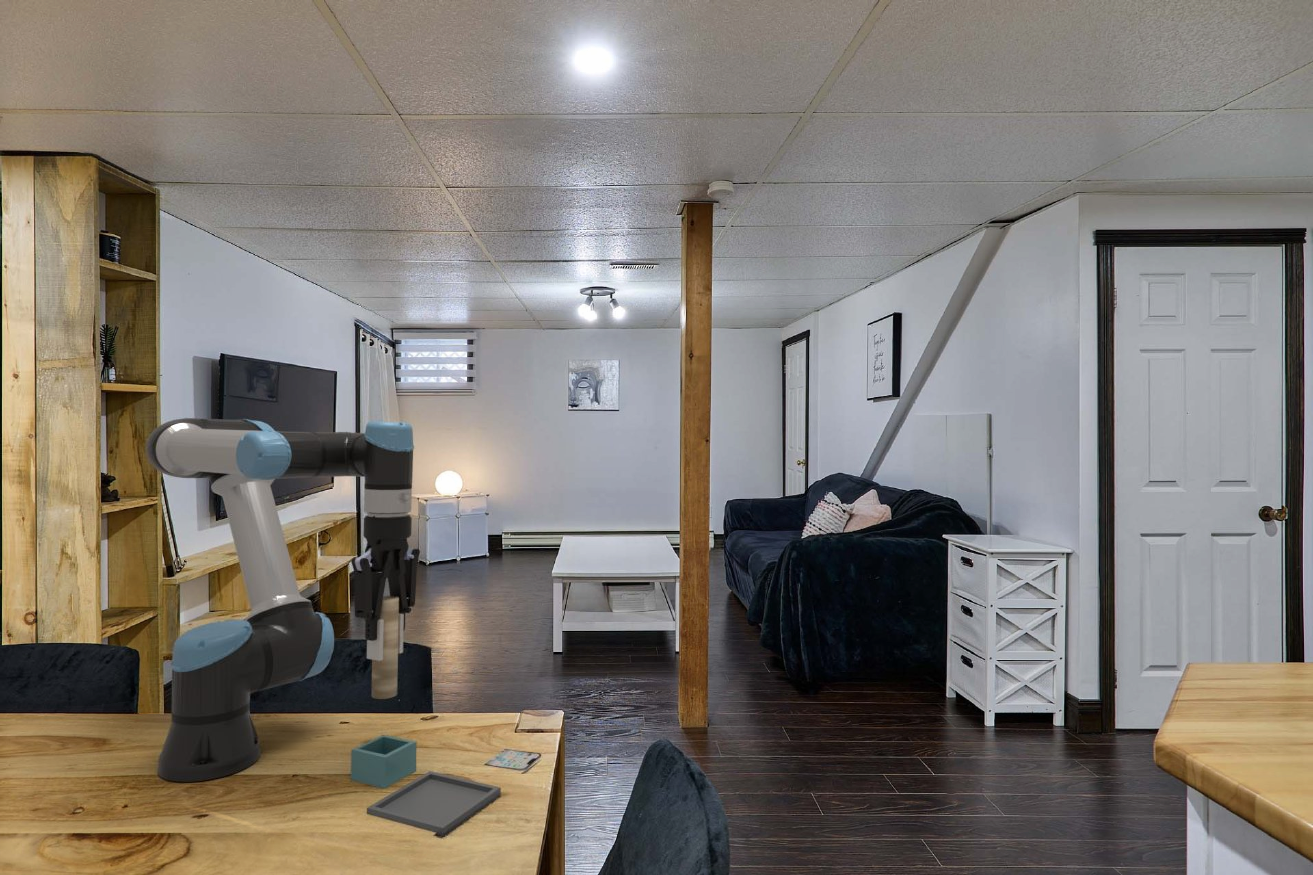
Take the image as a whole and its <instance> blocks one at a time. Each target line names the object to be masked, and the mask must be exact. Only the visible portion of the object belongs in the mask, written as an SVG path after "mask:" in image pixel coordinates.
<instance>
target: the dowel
mask: <svg viewBox="0 0 1313 875" xmlns="http://www.w3.org/2000/svg"><path fill="white" fill-rule="evenodd" d="M379 619H383V620H384V632H383V660H380V661H378V660H372V659H371V697H372V698H373V699H377V700H386V699H390V698H394V697H396V696H397V695H398V670H399V669H398V668H399V667H398V666H399V664H398V663H399V658H398V657H399V653H398V619H399V597H397V596H390V595H383V601H382V607H381V613H380V618H379Z"/></svg>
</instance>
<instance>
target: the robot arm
mask: <svg viewBox="0 0 1313 875" xmlns="http://www.w3.org/2000/svg"><path fill="white" fill-rule="evenodd" d="M413 431H414V430H413V425H412V424H410V423H408V422H405V421H380V420H379V421H378V420H377V421H368V422H367V423H366V425H365V432H350V431H335V432H334V431H333V432H332V431H331V432H330V431H329V432H328V431H325V432H324V431H283V430H282V431H281V430H280V431H279V430H275V429H274V428H273V427H272V426H270V424H268V423H266V422H263V421H260V420H252V419H247V418H239V419H225V418H224V419H220V418H219V419H218V418H193V417H192V418H190V417H189V418H188V417H184V418H179V419H177V418H176V419H172V420H170V421H167V422H164V423H162V424H160V425H158V426H157V427H156V428H154V429H153V431H151V433H150V435H149V436H148V437H147V439H146V443H145V454H146V457H147V460H148V462H149V463H150V465H151V466H152V467H153V468H154V469H156V471H158V472H160V473H162V474H164V475H167V476H169V477H172V478H173V477H174V478H180V479H181V478H182V479H208V481H209V484H210V488H211V491H212V493H214V494H217V495H219V496H220V497H222V499H223V503H224V504H223V505H224V507H225V511H226V516H227V520H228V523H229V527H230V531H231V535H232V539H233V543H234V547H235V548H234V549H235V552H236V555H237V559H238V564H239V567H240V572H241V574H242V579H243V582H244V586H245V591H246V596H247V598H248V602H249V607H250V612H249V614H247V616H246V618H245V620H244V619H227V620H224V621H214V622H209V623H205V624H202V625H198V626H196V627H193V628H191V629H189V630H187V631H185V632H184V633H182V634H181V635H180V636H179V637H178V638H177V639H176V640H175V641H174V644H173V651H172V660H171V663H170V668H171V721H170V722H171V723H170V724H171V725H170V727H169V730H168V732H167V736H166V738H165V741H164V744H163V747H162V750H161V753H160V754H159V757H158V761H157V762H158V763H157V764H158V765H157V774H158V775H159V777H160V778H161V779H164V780H166V781H171V782H178V783H179V782H180V783H182V782H183V783H187V782H188V783H191V782H203V781H207V780H208V781H209V780H215V779H218V778H222V777H227V776H229V775H234V774H236V773H238V772H241V771H243V770H245V769H247V768H249V767H250V766H252V765H254V764H255V763H256V762H257V761H258V760H259V759H260V756H261V742H260V741H261V740H260V739H259V737H258V733H257V730H256V727H255V725H254V721H253V718H252V716H251V713H250V712H251V711H250V705H251V704H250V700H251V697H250V696H251V694H253V693H255V692H260V691H263V690H268V689H272V688H275V687H278V686H282V685H287V684H291V683H294V682H297V683H299V682H301V681H304V680H305V679H308V678H311V677H314V676H317V675H318V674H320V673H322V672H323V671H324V670H325V669H326V668H327V666H328V665H329V662H330V661H331V659H332V654H333V652H334V648H335V633H334V628H333V624H332V622H331V619H330V618H329V617H327V615H326V614H325V613H322V612H318V611H316V612H315V611H314V608H313V604H312V600H310V599H308V598H305V597H304V596H302V595H301V593H300V590H299V586H298V583H297V579H296V575H295V571H294V568H293V564H292V561H291V557H290V554H289V549H288V546H287V542H286V538H285V535H284V531H283V528H282V524H281V520H280V517H279V513H278V509H277V506H276V502H275V498H274V494H273V490H272V487H271V485H272V484H273V483H274V481H275V480H277V479H279V480H280V479H297V478H331V477H332V478H334V477H335V478H336V477H338V478H339V477H357V478H358V477H363V478H364V487H363V488H364V490H363V494H364V495H363V512H364V513H366V514H367V515H365V516H364V518H363V534H362V535H363V538H364V539H366V541H367V544H366V546H365V548H364V553H363V554H362V555H360V556H359V557H356V556H355V557H354V556H353V557H352V559H351V561H350V562H351V566H352V568H353V572H354V573H353V574H354V576H353V577H354V578H353V579H354V580H353V582H354V616H355V618H359V619H362V620H364V622H365V624H364V628H365V629H364V630H365V632H364V633H365V634H364V637H365V640H366V659H367V660H371V661H372V660H378V661H380V660H383V632H384V620H383V619H379V618H380V613H381V607H382V601H383V596H385V595H384V594H385V588H386V581H387V582H388V589H389V590H388V591H389V596H397V597H399V619H398V655H399V654H402V653H404V631H405V629H406V614H410V613H411V611H412V608H414V606H415V605H416V596H417V595H416V591H417V571H418V570H417V569H418V561H419V557H420V554H421V551H420V549H419V548H412V547H410V545H409V542H408V539H409V538H410V537H411V536H412V527H413V526H412V522H413V520H412V517H411V515H410V514H409V513H410V512H412V504H413V503H412V502H413V501H412V499H413V498H412V497H413V495H412V494H413V492H412V491H413V489H412V488H413V485H412V484H413V470H414V469H413V467H414V466H413V464H414V449H415V446H414V434H413V433H414V432H413ZM411 607H412V608H411Z"/></svg>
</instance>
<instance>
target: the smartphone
mask: <svg viewBox="0 0 1313 875" xmlns="http://www.w3.org/2000/svg"><path fill="white" fill-rule="evenodd" d="M541 758H542V754H541V753H540V752H533V751H527V750H525V751H524V750H515V749H507V748H504V749H503V750H502V751H500V752H498V754H497V755H496V754H495V756H494V757H492V758H491V759H489V760H488V761H486V762H485V763H484V764H483V766H485V767H486V766H488V767H494V768H500V769H506V770H512V771H520V772H522V773H520V775H524V774H527V773H528V772H529V771H530V770H532V768H533V767H535V766H536V765H537V764H538V763H539V762H540V760H539V759H541ZM534 763H535V764H534Z"/></svg>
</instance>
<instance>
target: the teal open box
mask: <svg viewBox="0 0 1313 875" xmlns="http://www.w3.org/2000/svg"><path fill="white" fill-rule="evenodd" d="M417 743H418V741H416V740H411V739H406V738H402V737H397V736H393V735H388V734H381V735H379V736H377V737H375V738H372V739H371V740H368V741H367V742H365V743H363V744H361V745H359V746H356V747H354V748H351V749H350V750H351V753H350V754H351V755H350V781H353V782H356V783H361V784H365V785H369V786H373V787H378V788H381V789H387V788H389V787H391V786H393V785H394V784H396V783H397V782H399V781H401V780H403V779H405V778H407V777H408V776H410V775H412V774H413V773H416V772H417V747H418V746H417Z"/></svg>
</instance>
